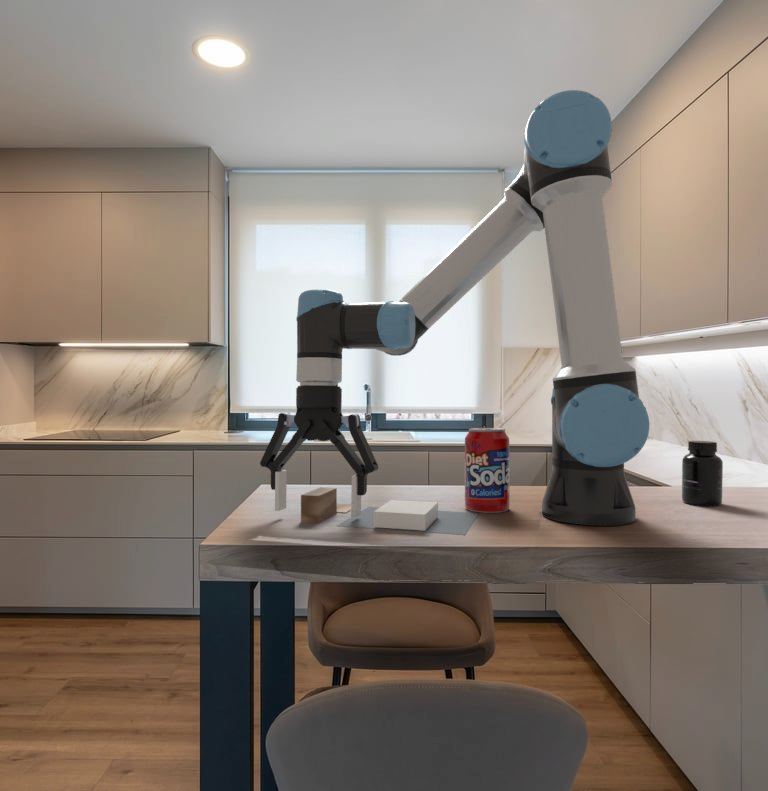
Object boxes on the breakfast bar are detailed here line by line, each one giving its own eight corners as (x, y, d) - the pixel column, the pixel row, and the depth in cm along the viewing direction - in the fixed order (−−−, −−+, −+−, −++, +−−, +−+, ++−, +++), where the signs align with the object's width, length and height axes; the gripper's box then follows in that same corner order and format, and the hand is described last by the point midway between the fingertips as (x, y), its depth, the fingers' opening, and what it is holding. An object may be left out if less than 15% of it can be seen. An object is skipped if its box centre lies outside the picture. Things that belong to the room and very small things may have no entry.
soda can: (496, 506, 105) (496, 427, 105) (517, 515, 98) (517, 429, 98) (457, 509, 103) (457, 427, 103) (476, 518, 96) (476, 430, 96)
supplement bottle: (680, 504, 107) (680, 441, 107) (683, 499, 113) (683, 439, 113) (722, 508, 104) (722, 443, 104) (723, 502, 110) (722, 440, 110)
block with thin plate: (359, 509, 104) (359, 482, 104) (327, 528, 89) (327, 496, 89) (328, 507, 105) (328, 480, 105) (292, 525, 90) (292, 494, 90)
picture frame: (437, 502, 93) (425, 514, 83) (437, 517, 93) (425, 531, 83) (391, 499, 95) (373, 511, 86) (391, 514, 95) (373, 528, 86)
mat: (478, 516, 97) (478, 512, 97) (465, 538, 82) (465, 534, 82) (368, 509, 103) (368, 506, 103) (336, 529, 87) (336, 525, 87)
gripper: (397, 385, 94) (395, 512, 94) (263, 384, 101) (261, 503, 101) (384, 384, 86) (382, 522, 86) (240, 383, 93) (239, 511, 93)
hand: (317, 512), depth 94 cm, fingers open, 13 cm apart
